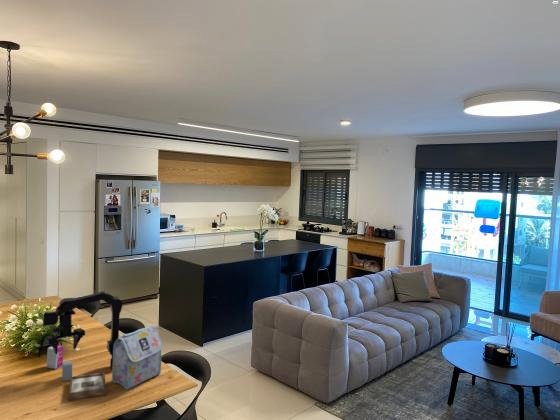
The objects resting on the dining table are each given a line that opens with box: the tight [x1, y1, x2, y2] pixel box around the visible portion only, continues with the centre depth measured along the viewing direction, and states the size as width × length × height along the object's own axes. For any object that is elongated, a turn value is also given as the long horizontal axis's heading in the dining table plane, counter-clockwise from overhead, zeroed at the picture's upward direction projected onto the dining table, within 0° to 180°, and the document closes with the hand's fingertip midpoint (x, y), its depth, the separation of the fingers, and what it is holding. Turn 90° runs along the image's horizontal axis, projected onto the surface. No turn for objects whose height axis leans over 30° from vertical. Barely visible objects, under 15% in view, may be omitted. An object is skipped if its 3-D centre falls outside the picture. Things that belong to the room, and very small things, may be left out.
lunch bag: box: [111, 325, 163, 390], centre depth 218 cm, size 22×17×26 cm
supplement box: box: [46, 344, 64, 371], centre depth 228 cm, size 6×6×12 cm
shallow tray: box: [68, 372, 106, 401], centre depth 207 cm, size 16×18×4 cm
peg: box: [61, 360, 73, 381], centre depth 217 cm, size 4×4×8 cm
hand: (65, 351), depth 218 cm, fingers open, 9 cm apart
